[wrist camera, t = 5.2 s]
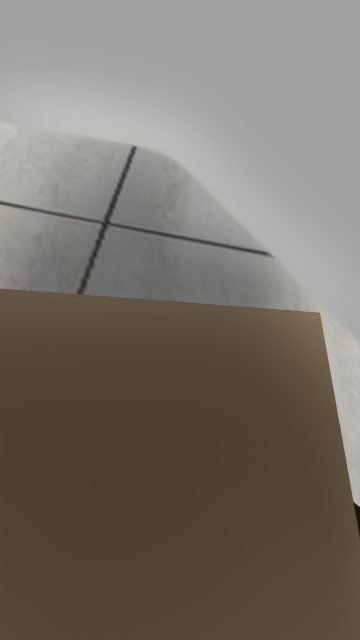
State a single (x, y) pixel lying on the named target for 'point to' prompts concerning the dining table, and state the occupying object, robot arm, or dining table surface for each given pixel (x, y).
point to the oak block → (171, 474)
